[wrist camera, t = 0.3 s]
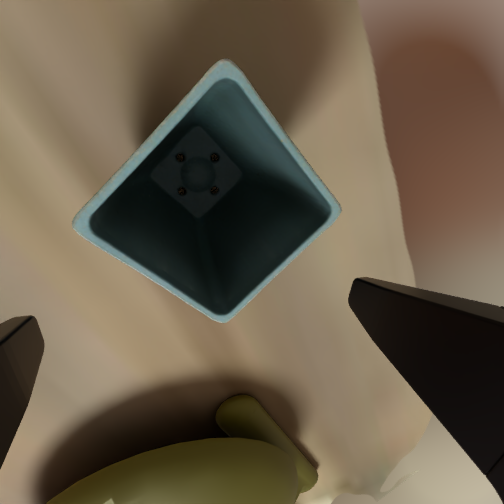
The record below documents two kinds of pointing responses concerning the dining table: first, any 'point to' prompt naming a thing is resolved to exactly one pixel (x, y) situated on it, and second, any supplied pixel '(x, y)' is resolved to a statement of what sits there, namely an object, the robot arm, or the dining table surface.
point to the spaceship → (207, 467)
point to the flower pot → (212, 199)
